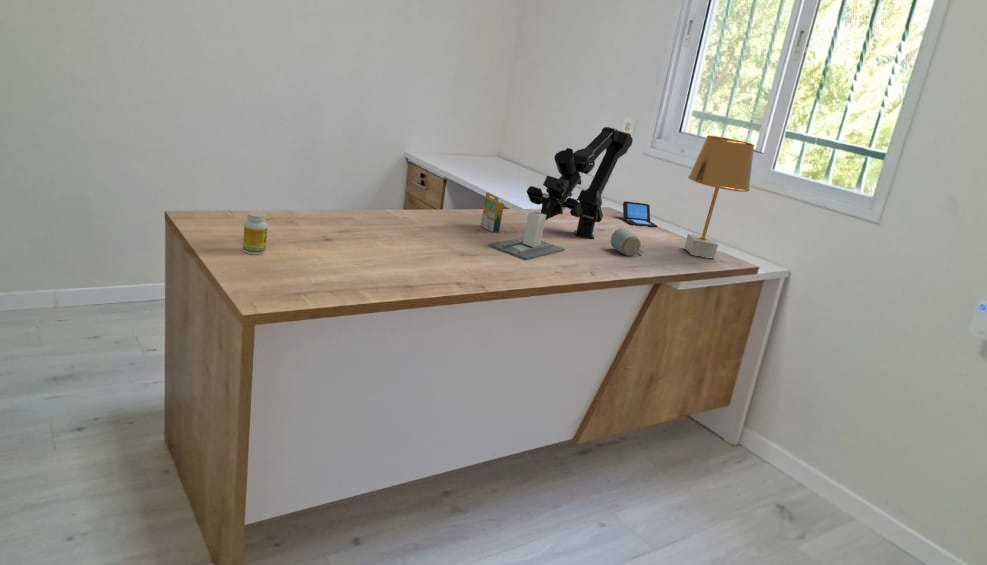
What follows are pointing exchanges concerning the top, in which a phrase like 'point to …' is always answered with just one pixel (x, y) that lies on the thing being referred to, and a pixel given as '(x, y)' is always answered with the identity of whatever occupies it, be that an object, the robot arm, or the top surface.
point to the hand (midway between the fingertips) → (540, 221)
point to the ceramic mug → (626, 242)
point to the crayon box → (492, 213)
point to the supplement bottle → (255, 234)
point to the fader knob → (534, 229)
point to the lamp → (719, 180)
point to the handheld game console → (637, 214)
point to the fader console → (525, 248)
